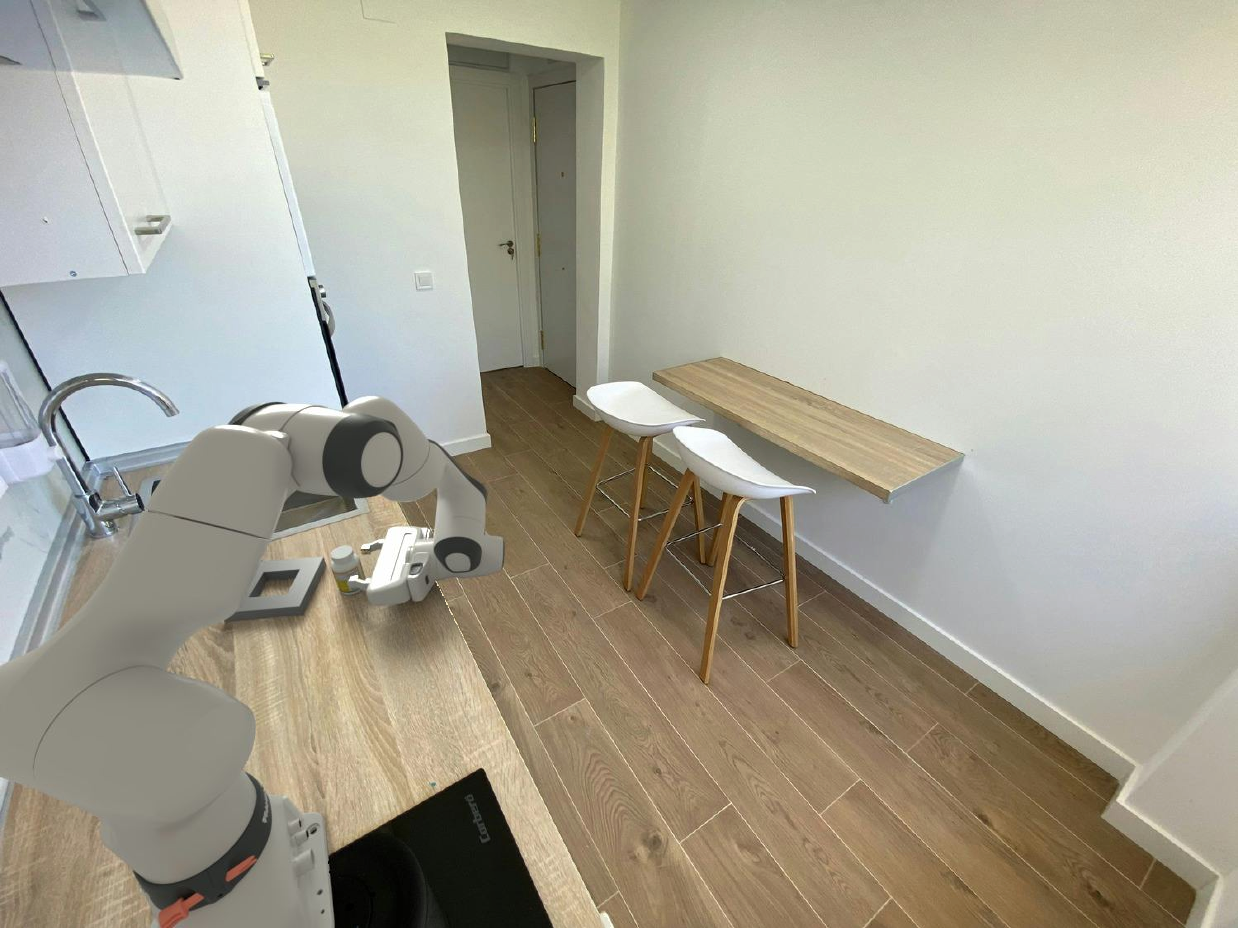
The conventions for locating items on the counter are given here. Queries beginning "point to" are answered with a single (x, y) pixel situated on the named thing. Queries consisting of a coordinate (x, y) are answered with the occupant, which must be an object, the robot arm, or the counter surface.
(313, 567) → the frame
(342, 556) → the supplement bottle
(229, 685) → the counter surface
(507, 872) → the counter surface
